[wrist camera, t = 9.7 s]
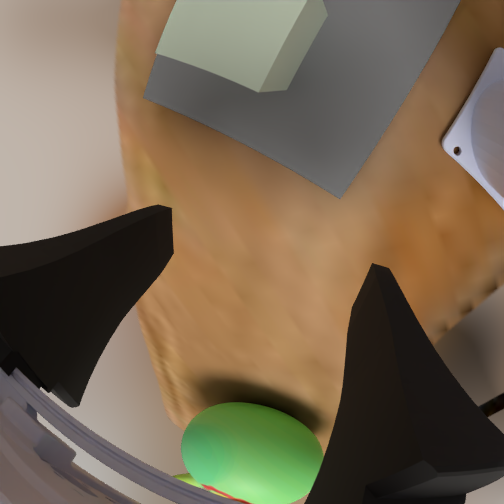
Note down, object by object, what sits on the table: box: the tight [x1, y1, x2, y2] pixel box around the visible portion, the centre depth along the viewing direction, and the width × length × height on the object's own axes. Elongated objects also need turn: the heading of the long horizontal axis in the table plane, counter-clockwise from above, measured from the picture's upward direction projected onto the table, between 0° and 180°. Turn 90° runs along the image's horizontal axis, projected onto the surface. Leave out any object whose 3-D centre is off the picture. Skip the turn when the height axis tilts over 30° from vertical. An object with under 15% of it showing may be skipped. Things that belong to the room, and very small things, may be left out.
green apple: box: [173, 402, 324, 504], centre depth 29 cm, size 18×17×15 cm
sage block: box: [155, 0, 328, 93], centre depth 10 cm, size 5×5×5 cm
